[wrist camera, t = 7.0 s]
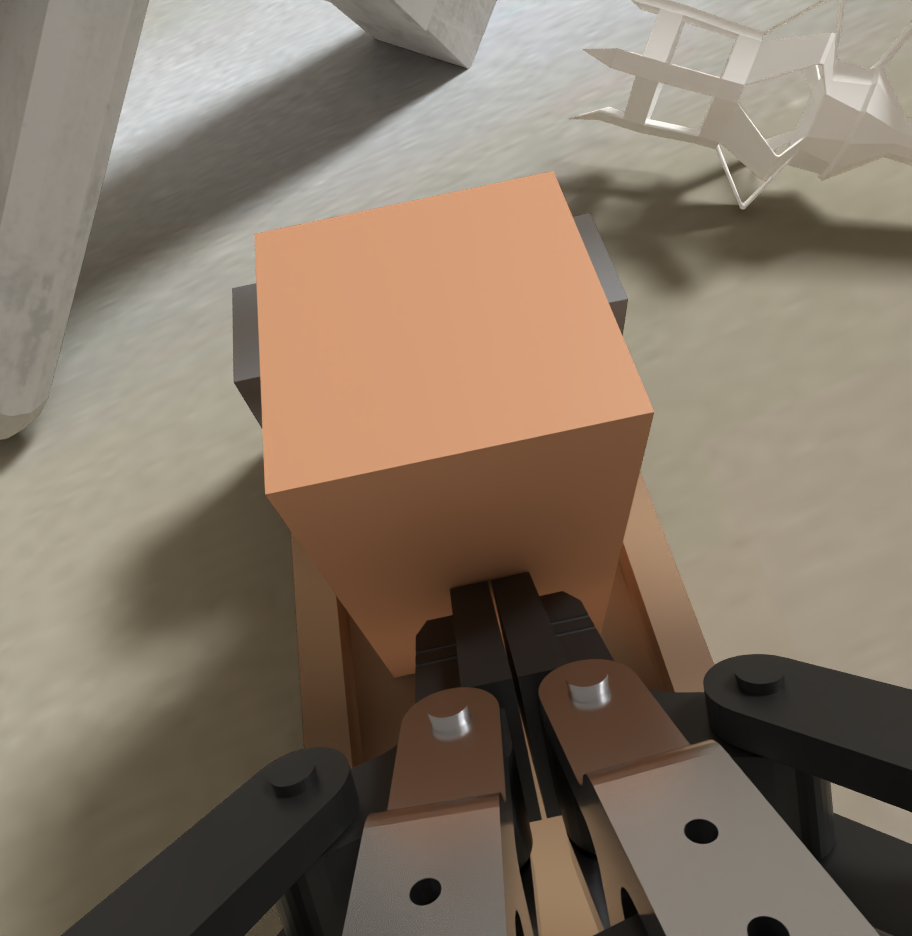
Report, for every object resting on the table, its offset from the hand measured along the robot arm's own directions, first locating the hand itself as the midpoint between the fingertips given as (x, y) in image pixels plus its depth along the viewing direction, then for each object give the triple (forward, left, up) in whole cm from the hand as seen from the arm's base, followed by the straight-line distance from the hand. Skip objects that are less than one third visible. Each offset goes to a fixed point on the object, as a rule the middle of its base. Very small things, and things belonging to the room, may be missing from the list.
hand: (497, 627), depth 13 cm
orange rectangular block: (-2, -3, -4) cm, 5 cm away
